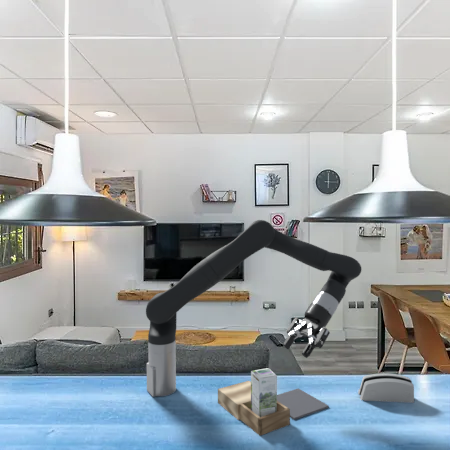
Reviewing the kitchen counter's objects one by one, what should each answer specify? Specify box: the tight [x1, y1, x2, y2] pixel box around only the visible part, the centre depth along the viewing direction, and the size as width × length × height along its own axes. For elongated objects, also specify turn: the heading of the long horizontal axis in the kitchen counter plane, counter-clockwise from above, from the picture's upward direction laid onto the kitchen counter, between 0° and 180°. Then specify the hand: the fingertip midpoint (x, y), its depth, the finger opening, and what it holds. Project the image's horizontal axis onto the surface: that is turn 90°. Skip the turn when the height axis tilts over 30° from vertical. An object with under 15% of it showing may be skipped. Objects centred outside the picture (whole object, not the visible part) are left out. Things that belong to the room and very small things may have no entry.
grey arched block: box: [357, 372, 415, 404], centre depth 123 cm, size 17×5×10 cm, turn 84°
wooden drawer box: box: [217, 380, 291, 436], centre depth 115 cm, size 22×12×4 cm, turn 31°
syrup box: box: [250, 367, 278, 417], centre depth 110 cm, size 6×6×14 cm
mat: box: [277, 388, 330, 421], centre depth 120 cm, size 14×14×1 cm
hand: (294, 351), depth 116 cm, fingers open, 8 cm apart
